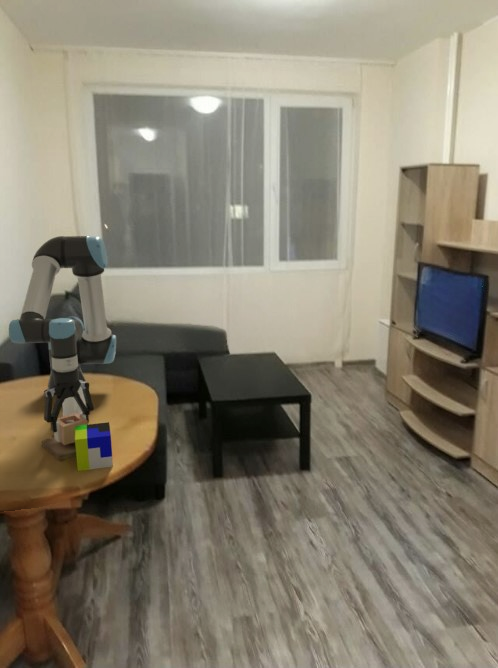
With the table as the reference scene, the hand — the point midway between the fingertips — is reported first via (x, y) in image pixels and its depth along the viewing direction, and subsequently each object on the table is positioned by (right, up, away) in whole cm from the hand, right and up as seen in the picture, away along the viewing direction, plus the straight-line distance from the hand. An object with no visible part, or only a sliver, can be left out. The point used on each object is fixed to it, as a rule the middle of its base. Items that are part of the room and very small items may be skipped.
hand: (71, 436), depth 175 cm
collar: (0, 0, 0) cm, 0 cm away
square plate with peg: (0, -3, +1) cm, 3 cm away
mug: (-7, +3, +25) cm, 26 cm away
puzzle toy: (+10, -6, -9) cm, 14 cm away
